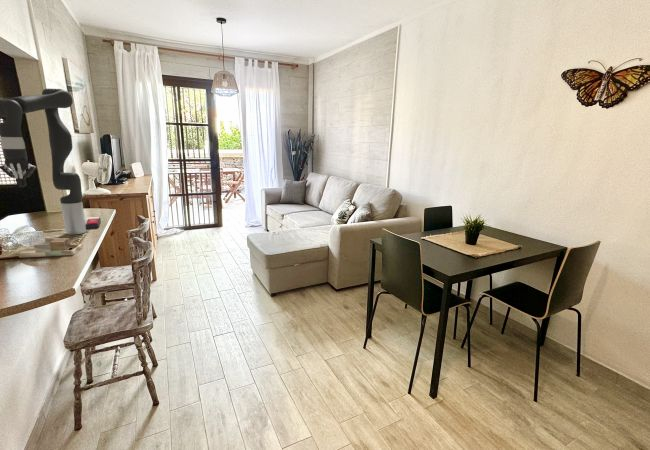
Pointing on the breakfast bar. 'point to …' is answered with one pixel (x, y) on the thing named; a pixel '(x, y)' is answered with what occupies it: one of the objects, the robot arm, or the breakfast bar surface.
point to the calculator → (92, 222)
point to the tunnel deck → (48, 250)
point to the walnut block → (60, 244)
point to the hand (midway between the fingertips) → (22, 186)
